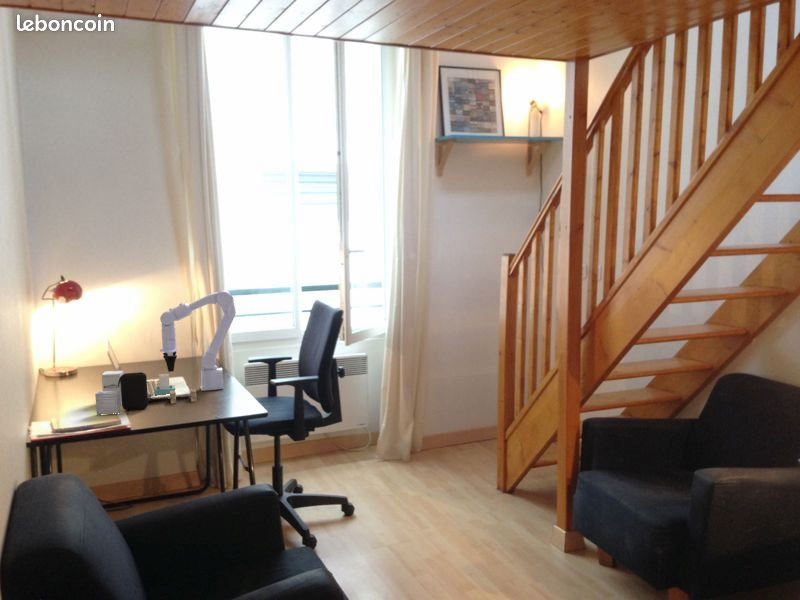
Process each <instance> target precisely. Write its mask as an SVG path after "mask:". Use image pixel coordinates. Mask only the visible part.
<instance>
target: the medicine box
mask: <svg viewBox="0 0 800 600" xmlns="http://www.w3.org/2000/svg"><path fill="white" fill-rule="evenodd" d="M94 396H95V408H96V416H97V415H101V414H113V413H114V414H115V413H116V414H118V413H119V414H120V413H121V412H122V404H120V391H103V390H102V391H97V393H95V394H94ZM119 414H118V415H119ZM101 416H102V415H101Z"/></svg>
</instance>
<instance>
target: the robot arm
mask: <svg viewBox="0 0 800 600" xmlns="http://www.w3.org/2000/svg"><path fill="white" fill-rule="evenodd" d="M209 304H210V305H216V304H218V305H219V307H220V308H221V309H222V312H223V316H222V319H221V320H220V323H219V325H218V327H217V329H216V332H215V333H214V336H213V338H212V340H211V342H210V345H209V346H208V348H207V351H206V352H205V353H203V354H202V357H201V359H200V366H201V367H200V384H201V385H200V386H199V387H200V392H202V391H213V390H224V383H225V382H224V373H223V372H224V371H223V368H222V367H218V366H217V365H216V362H217V356H218V354H219V351H220V349H221V347H222V344H223V343H224V340H225V339H226V336H227V334H228V332H229V330H230V327H231V325H232V324H233V321H234V319H235V316H236V313H237V312H236V307H235V302H234V297H233V296H232V293H231V292H230V291H229V290H227V289H220V291H216V292H212V293H210V294H207V295H205V296H203V297H201V298H199V299H197V300H195V301H193V302H191V303H186V302H184V303H183V302H181V303H179V304H178V306H175V307H173V308H169V309H168V310H166V311H165V312H162V314H161V315H160V318H159V319H160V320H159V321H160V322H161V341H162V342H161V343H162V348H159V352H162V354H163V355H162V357H163V360H164V361H165V363H166V368H167V371H168V373H169V372H170V373H171V372H174V371H175V363H176V360H177V357H178V355H176V354H177V351H178V348H177V337H176V336H177V333H176V327H175V326H176V325H175V322H178V321H181V320H182V319H185V318H187V317H189V316H191V315H192V313H193V312H194V311H195V310H197V309H199V308H202V307H205V306H207V305H209Z"/></svg>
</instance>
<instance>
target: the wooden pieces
mask: <svg viewBox="0 0 800 600" xmlns="http://www.w3.org/2000/svg"><path fill="white" fill-rule="evenodd" d="M175 390H176V389H175ZM175 390H173V391H170V397H171V398H170V404H177V398H176V392H175ZM189 390H190V402H197V401H198V400H197V390H196V388H190V389H189Z"/></svg>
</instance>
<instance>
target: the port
mask: <svg viewBox="0 0 800 600" xmlns="http://www.w3.org/2000/svg"><path fill="white" fill-rule="evenodd" d="M169 386H170V389H160V387H159V385H156V386H154V387H153V389H154V390H153V391H154V394H155V396H157V395H166V394H170V391H173V390H176V385H175V384H169Z"/></svg>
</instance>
